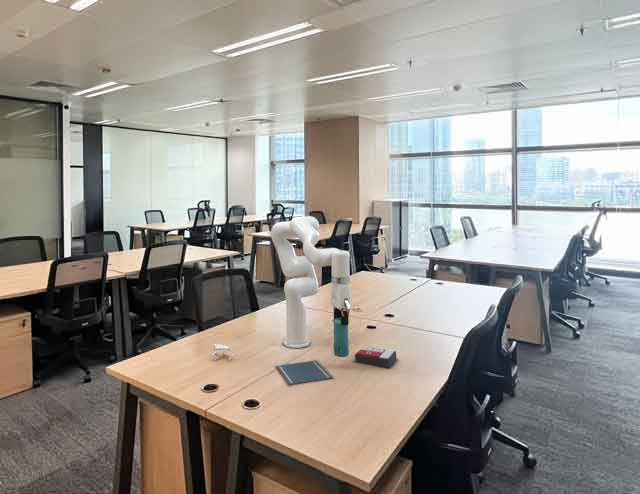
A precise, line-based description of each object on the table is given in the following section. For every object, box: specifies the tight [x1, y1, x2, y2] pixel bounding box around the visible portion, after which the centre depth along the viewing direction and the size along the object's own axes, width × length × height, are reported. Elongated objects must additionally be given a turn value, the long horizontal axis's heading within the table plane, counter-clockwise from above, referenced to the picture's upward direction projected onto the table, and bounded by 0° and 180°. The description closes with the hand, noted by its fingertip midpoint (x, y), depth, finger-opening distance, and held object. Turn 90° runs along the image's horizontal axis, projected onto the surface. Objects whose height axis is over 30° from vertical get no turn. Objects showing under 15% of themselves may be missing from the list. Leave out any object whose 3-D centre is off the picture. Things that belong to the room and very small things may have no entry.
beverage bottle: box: [333, 309, 350, 358], centre depth 179 cm, size 6×7×20 cm
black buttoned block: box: [354, 345, 397, 369], centre depth 186 cm, size 11×4×15 cm
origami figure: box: [211, 343, 234, 362], centre depth 189 cm, size 12×8×5 cm
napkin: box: [275, 360, 333, 386], centre depth 174 cm, size 18×18×1 cm
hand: (341, 322), depth 179 cm, fingers closed on beverage bottle, 6 cm apart
